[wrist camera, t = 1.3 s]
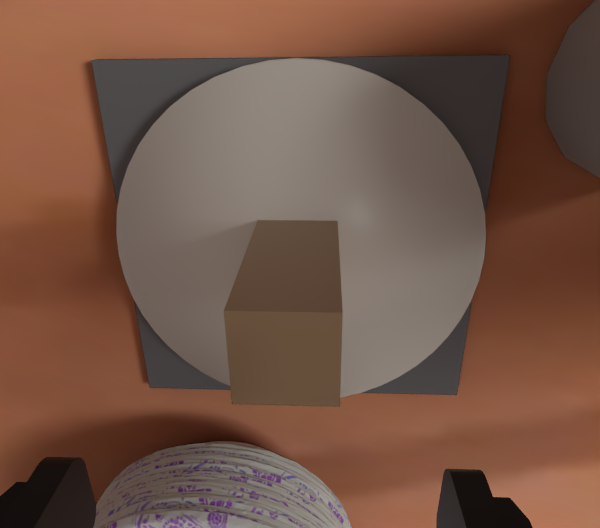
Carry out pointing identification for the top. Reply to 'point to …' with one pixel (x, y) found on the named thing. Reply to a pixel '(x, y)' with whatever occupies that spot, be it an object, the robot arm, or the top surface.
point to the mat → (397, 69)
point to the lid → (300, 231)
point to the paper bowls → (218, 491)
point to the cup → (577, 92)
